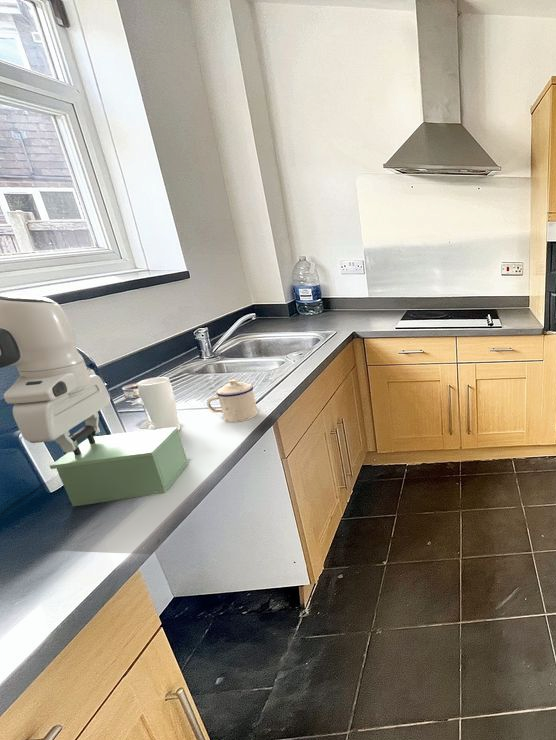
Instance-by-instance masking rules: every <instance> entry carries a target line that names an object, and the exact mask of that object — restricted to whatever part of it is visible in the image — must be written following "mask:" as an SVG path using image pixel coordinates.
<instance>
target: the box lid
mask: <svg viewBox="0 0 556 740" xmlns="http://www.w3.org/2000/svg"><path fill="white" fill-rule="evenodd" d="M177 431H179V430H178V428H177V427H173V428H164V429H155V428H154V429H147V430H140V431H139V430H138V431H130V432H121V433H114V434H105V435H94V436H93V434H92V432H94V427H92V426H90V425H87V426H85V425H84V426H83V427H82V428H80V429H78V430H77V431H75V432H74V433H73V434H70V435H69V437H70V439H71V440H72V441H74V440H76V441H77V445H78V446H79V447H78V448H77V449H76V450H74V451H73V452H65V454H64V455H62V456H61V457H59V458H58V459H57V460H55V461H54V462H53V463H51V464H50V465H49V468H50V470H55V469H56V470H57V468H64V467H71V466H79V465H87V464H94V463H102V462H109V461H117V460H125V459H132V458H140V457H148V456H153V455H154V454H155V453H156V452H157V451H158V450H159V449H160V448H161V447H162V446H163V445H164V444H165V443H166V442H167V441H168V440H169V439H170V438H171V437H172V436H173V435H174V434H175V433H176V432H177ZM84 439H85V440H84ZM81 441H82V442H81Z"/></svg>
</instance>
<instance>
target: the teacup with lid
mask: <svg viewBox="0 0 556 740" xmlns="http://www.w3.org/2000/svg"><path fill="white" fill-rule="evenodd" d="M254 393H255V392H254V386H253V385H252V384H251V383H248V382H241V381H238V380H237V379H236V378H233V379H229V380H228V383H226V384H225V385H224V386H221V387H219V388H218V389H217V390H216V395H217V396H212V397H209V399H208V400H207V401H206V406H207V409H208V410H209V411H211V412H212V413H215V414H222V416H223V419H224V421H226V422H229V423H240V422H244V421H248V420H250V419H253V418H255V417H256V416H257V415H258V414H259V412H258V407H257V403H256V398H255V394H254ZM216 400H218V401H219V404H220V408H221V409H216V408H214V407H212V405H211V403H212V401H216Z"/></svg>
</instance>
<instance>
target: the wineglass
mask: <svg viewBox="0 0 556 740" xmlns="http://www.w3.org/2000/svg"><path fill="white" fill-rule="evenodd" d="M137 383H138V382H134V383H130V384H127V385H124V386H122V387H121V389H122V390H123V397H124V399H126V401H127V402H130V403H133V404H138V405H140V406H142V408H143V410H144V413H145V415H146V418H147V422H144V423H142V424H141V425H139V429H150V428H154V425H153V423H152V421H151V419H150V416H149V414H148V412H147V410H146V408H145V406H144V403H143V401H142V399H141V396H140V393H139V390H138V386H137Z"/></svg>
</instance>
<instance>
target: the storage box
mask: <svg viewBox="0 0 556 740" xmlns="http://www.w3.org/2000/svg"><path fill="white" fill-rule="evenodd" d="M181 438H182V437H181V435H180V430H178V431H177V432H176V433H175V434H174V435H173V436H172V437H171V438H170V439H169V440H168V441H167V442H166V443H165V444H164V445H163V446H162V447H161V448H160V449H159V450H158V451H157V452H156V453H155V454H154V455H153V456H148V457H140V458H132V459H125V460H117V461H109V462H102V463H94V464H87V465H79V466H71V467H64V468H56V472H57V473H58V475H59V478H60V480H61V482H62V485H63V487H64V490H65V492H66V494H67V496H68V500H69V502H70V503H71V506H72V507H80V506H87V505H92V504H93V505H94V504H98V503H99V504H100V503H105V502H112V501H119V500H125V499H133V498H139V497H146V496H151V495H158V494H165V493H166V492H167V491H168V490H169V488H170V487H171V486H172V484H173V483H174V482H175V481H176V480H177V479H178V478H179V476H180V474H182V472H183V471H184V470H185V469H186V467H187V466H188V464H189V461H188V458H187V454H186V452H185V448H184V445H183V440H182V439H181Z"/></svg>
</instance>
